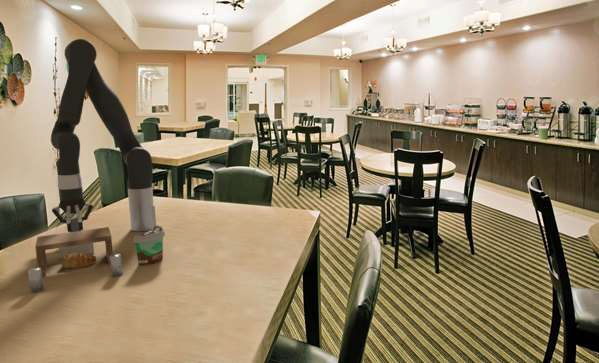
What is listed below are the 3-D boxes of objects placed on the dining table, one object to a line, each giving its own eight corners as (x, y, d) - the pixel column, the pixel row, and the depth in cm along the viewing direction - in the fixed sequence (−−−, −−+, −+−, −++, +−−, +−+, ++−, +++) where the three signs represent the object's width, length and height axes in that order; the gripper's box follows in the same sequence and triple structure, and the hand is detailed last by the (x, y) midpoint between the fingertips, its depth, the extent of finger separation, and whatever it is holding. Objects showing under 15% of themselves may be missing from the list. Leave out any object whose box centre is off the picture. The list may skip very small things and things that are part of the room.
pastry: (98, 259, 131) (97, 248, 131) (94, 267, 125) (93, 255, 124) (66, 262, 129) (64, 251, 128) (60, 270, 122) (59, 259, 122)
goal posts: (121, 271, 121) (120, 253, 119) (123, 275, 118) (121, 256, 117) (31, 289, 110) (28, 268, 108) (30, 293, 107) (27, 272, 106)
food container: (153, 268, 123) (151, 237, 121) (135, 267, 124) (132, 236, 122) (173, 254, 135) (171, 225, 133) (157, 252, 136) (154, 224, 134)
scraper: (91, 238, 151) (89, 215, 150) (94, 253, 136) (91, 228, 134) (61, 242, 147) (58, 219, 145) (60, 258, 131) (56, 233, 129)
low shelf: (111, 253, 135) (108, 227, 133) (114, 263, 127) (111, 235, 125) (41, 265, 126) (37, 236, 124) (39, 277, 117) (35, 246, 115)
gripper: (91, 182, 151) (96, 226, 154) (48, 186, 144) (54, 232, 147) (92, 186, 144) (97, 231, 147) (47, 190, 137) (53, 238, 141)
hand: (75, 231), depth 147 cm, fingers closed on scraper, 2 cm apart
